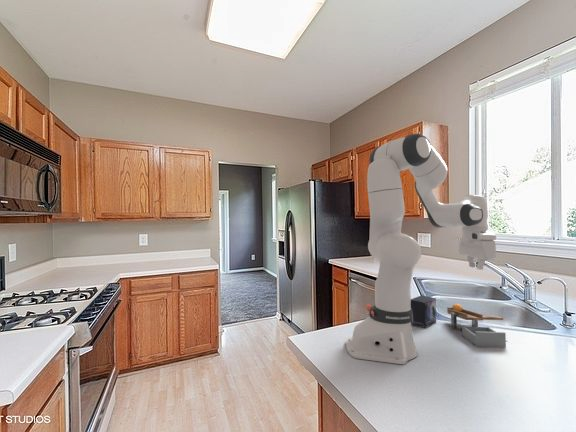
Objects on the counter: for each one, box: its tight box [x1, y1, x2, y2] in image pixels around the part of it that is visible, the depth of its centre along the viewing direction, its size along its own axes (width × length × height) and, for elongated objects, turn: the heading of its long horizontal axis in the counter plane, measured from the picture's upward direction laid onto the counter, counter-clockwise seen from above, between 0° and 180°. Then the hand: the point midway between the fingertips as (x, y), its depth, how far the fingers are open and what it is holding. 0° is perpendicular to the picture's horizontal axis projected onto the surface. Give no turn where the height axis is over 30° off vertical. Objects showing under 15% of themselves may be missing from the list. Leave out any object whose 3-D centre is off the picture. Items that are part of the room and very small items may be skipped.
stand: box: [448, 312, 479, 331], centre depth 110 cm, size 10×4×6 cm, turn 84°
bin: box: [461, 326, 507, 349], centre depth 98 cm, size 9×9×5 cm
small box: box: [411, 294, 437, 329], centre depth 116 cm, size 11×6×10 cm, turn 130°
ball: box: [451, 303, 463, 312], centre depth 116 cm, size 4×4×4 cm
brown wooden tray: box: [446, 307, 504, 321], centre depth 110 cm, size 14×15×2 cm
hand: (475, 268), depth 114 cm, fingers open, 4 cm apart
